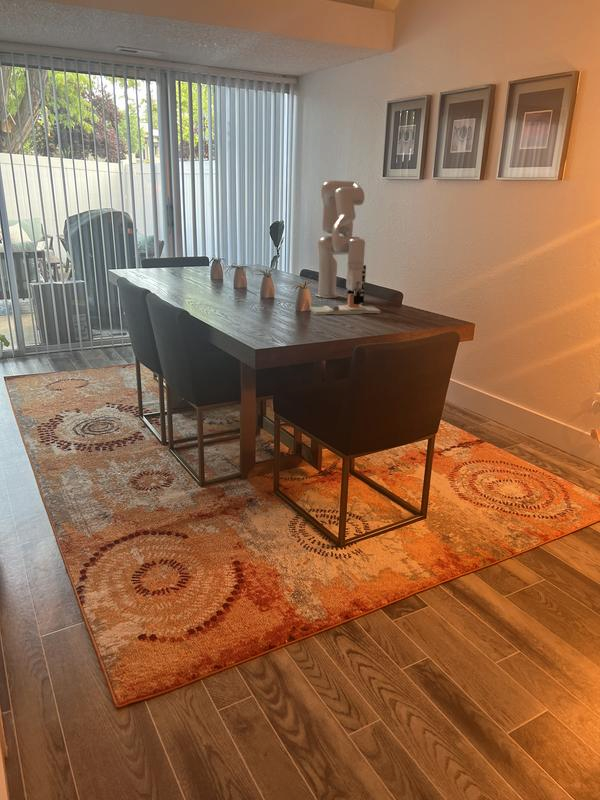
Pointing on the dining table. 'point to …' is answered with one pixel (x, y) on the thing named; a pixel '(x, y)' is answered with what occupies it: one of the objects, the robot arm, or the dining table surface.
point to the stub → (351, 303)
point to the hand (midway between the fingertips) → (353, 302)
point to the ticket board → (341, 309)
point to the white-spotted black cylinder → (362, 286)
